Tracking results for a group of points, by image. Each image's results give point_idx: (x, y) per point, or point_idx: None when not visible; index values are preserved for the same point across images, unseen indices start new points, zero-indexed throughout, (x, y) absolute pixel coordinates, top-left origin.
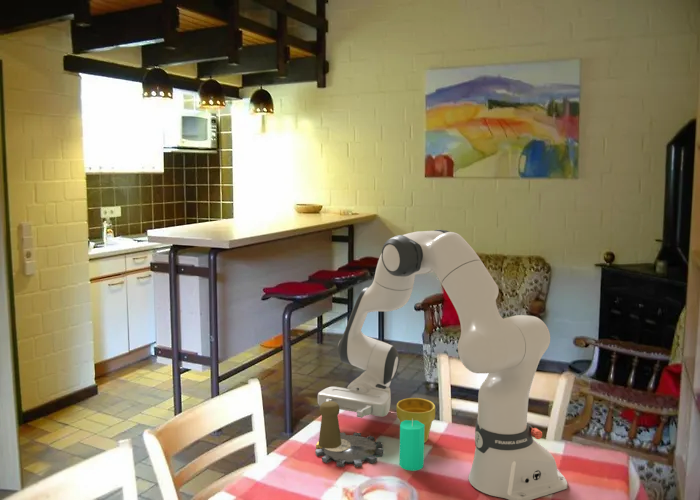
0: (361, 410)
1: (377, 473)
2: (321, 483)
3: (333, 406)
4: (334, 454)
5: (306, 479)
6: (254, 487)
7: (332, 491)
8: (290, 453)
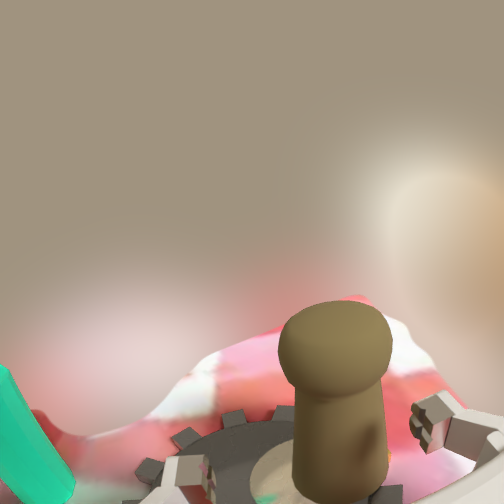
0: (174, 466)
1: (129, 434)
2: (240, 365)
3: (292, 317)
4: (274, 433)
5: (278, 358)
6: None
7: (207, 360)
8: (405, 387)
